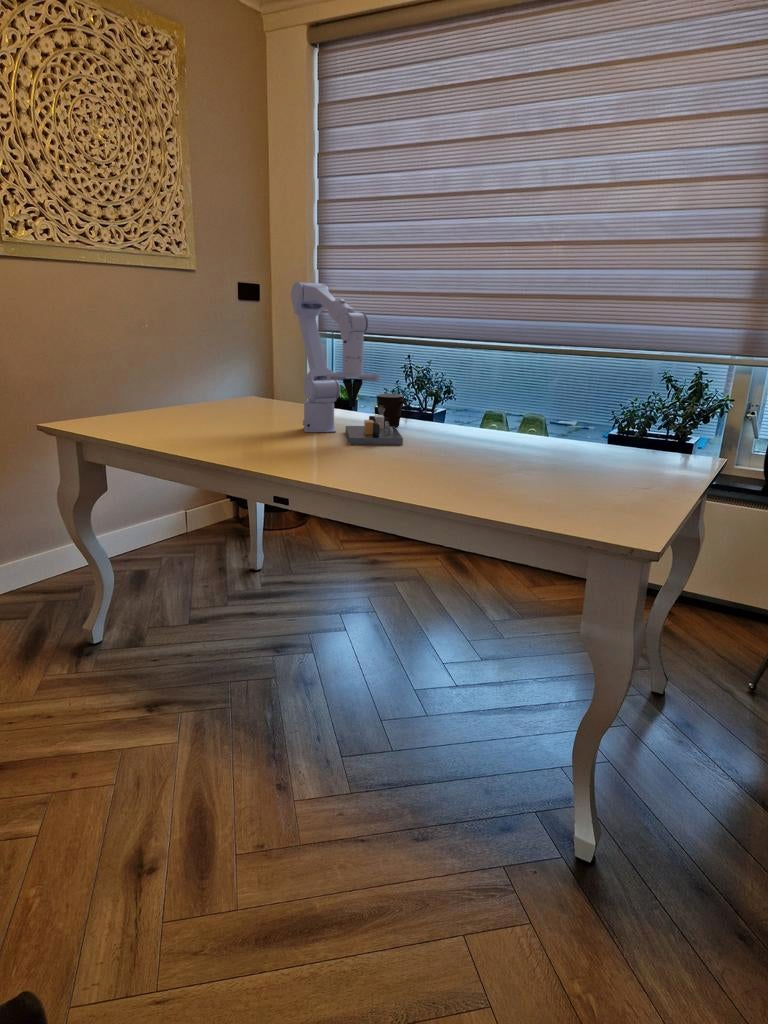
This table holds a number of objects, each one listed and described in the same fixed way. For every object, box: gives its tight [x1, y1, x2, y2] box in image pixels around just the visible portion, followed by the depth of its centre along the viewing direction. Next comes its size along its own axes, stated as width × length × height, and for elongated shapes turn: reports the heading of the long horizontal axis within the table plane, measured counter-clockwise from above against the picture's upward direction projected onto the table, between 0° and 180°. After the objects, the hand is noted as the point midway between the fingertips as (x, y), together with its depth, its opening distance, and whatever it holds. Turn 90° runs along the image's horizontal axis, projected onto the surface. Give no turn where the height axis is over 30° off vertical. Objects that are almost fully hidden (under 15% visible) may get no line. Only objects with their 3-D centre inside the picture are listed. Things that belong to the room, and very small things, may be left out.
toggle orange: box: [363, 419, 374, 435], centre depth 191 cm, size 2×4×4 cm, turn 7°
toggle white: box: [374, 414, 384, 429], centre depth 200 cm, size 2×4×4 cm, turn 7°
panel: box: [345, 415, 404, 446], centre depth 194 cm, size 15×18×6 cm
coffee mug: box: [376, 392, 409, 428], centre depth 211 cm, size 12×9×10 cm
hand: (352, 406), depth 188 cm, fingers closed
